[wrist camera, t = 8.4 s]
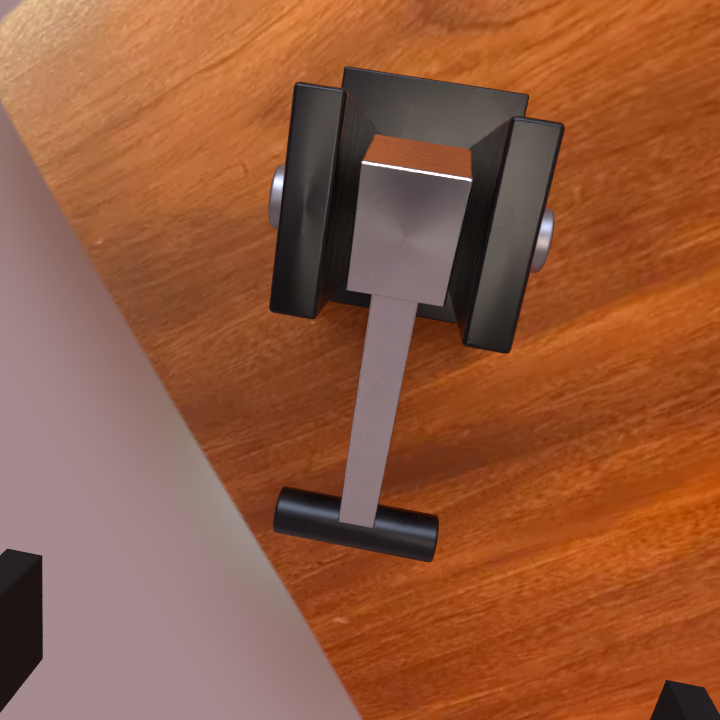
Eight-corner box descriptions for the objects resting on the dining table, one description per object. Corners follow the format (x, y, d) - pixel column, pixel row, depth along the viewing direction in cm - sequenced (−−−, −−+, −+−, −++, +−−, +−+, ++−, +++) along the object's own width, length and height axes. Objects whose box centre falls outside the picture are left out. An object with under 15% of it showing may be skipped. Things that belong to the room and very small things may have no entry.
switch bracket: (475, 321, 26) (532, 466, 12) (317, 293, 26) (210, 406, 13) (524, 98, 23) (663, -15, 10) (347, 71, 23) (252, -74, 10)
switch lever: (431, 524, 20) (428, 586, 18) (286, 496, 20) (267, 554, 18) (534, 159, 13) (547, 190, 11) (314, 123, 13) (288, 148, 11)
